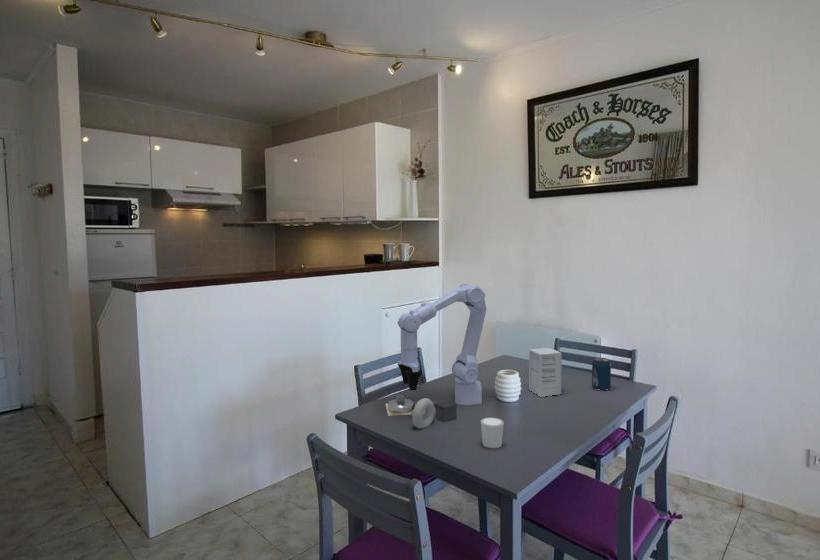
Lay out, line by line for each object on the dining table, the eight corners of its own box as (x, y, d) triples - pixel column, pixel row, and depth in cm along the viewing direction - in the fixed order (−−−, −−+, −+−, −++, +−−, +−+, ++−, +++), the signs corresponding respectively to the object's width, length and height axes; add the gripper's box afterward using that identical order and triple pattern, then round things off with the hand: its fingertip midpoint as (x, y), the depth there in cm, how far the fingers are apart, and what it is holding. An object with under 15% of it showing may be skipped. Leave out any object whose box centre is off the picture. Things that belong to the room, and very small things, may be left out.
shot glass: (478, 439, 145) (478, 417, 144) (500, 438, 145) (500, 416, 145) (483, 449, 138) (483, 426, 137) (506, 448, 139) (506, 425, 138)
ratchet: (444, 401, 175) (444, 389, 174) (449, 410, 166) (449, 397, 165) (387, 404, 172) (386, 392, 172) (389, 414, 163) (388, 401, 163)
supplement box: (561, 395, 183) (562, 352, 181) (540, 397, 181) (540, 354, 179) (548, 387, 192) (549, 347, 191) (528, 390, 190) (528, 348, 188)
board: (444, 403, 176) (444, 400, 176) (451, 415, 164) (451, 411, 164) (385, 406, 174) (385, 403, 173) (388, 419, 162) (388, 415, 162)
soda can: (611, 387, 192) (612, 358, 190) (608, 392, 186) (609, 362, 185) (593, 384, 195) (594, 356, 194) (589, 389, 190) (590, 360, 188)
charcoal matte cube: (447, 417, 163) (447, 400, 162) (456, 422, 158) (456, 404, 158) (435, 420, 160) (435, 403, 159) (444, 425, 156) (444, 407, 155)
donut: (419, 435, 148) (418, 404, 147) (410, 432, 151) (409, 402, 150) (437, 424, 156) (436, 395, 155) (428, 422, 158) (428, 393, 157)
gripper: (392, 344, 170) (393, 381, 171) (403, 354, 156) (404, 394, 157) (411, 343, 172) (412, 379, 173) (424, 352, 158) (424, 392, 159)
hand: (409, 386), depth 165 cm, fingers open, 7 cm apart
